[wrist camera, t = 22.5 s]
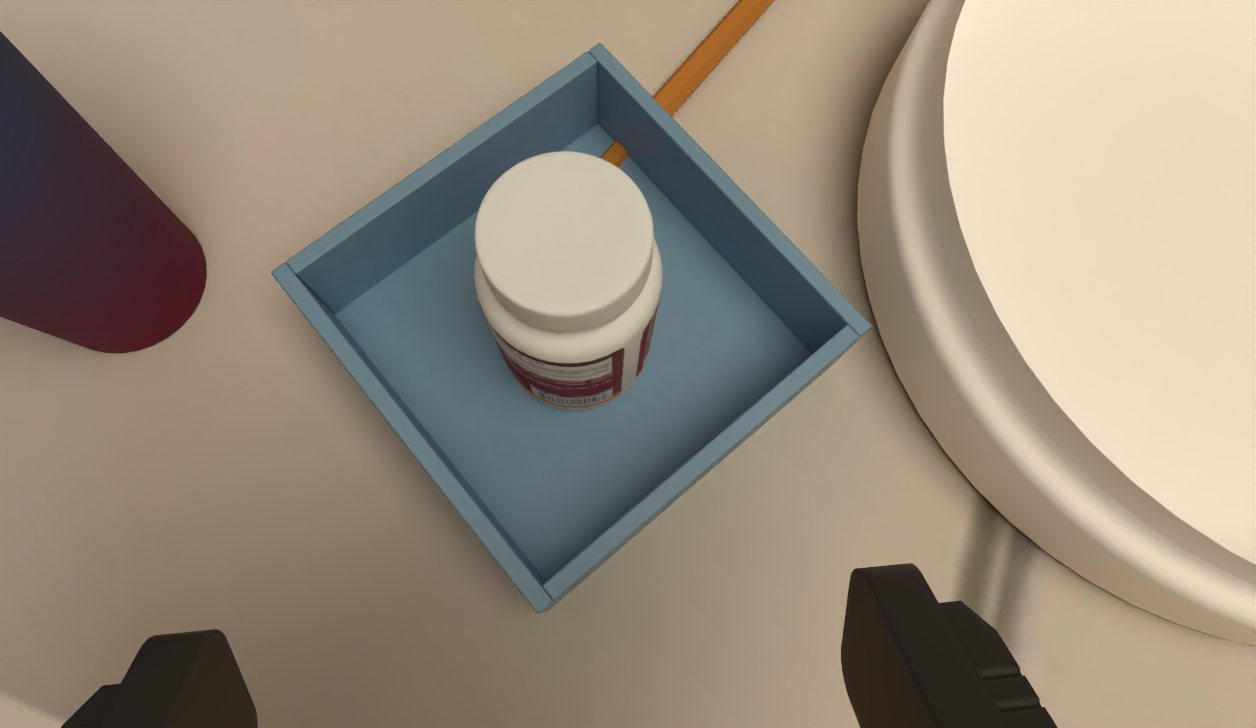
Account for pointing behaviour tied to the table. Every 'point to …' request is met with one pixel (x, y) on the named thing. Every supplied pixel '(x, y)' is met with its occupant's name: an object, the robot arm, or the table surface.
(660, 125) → the open blue box
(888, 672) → the robot arm
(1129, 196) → the white round tray
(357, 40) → the table surface
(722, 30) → the pencil
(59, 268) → the cup
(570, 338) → the pill bottle
